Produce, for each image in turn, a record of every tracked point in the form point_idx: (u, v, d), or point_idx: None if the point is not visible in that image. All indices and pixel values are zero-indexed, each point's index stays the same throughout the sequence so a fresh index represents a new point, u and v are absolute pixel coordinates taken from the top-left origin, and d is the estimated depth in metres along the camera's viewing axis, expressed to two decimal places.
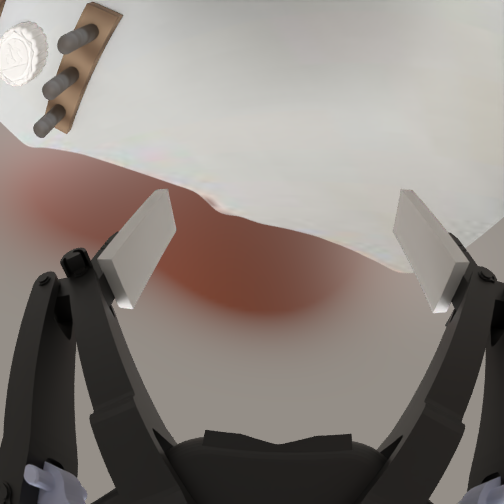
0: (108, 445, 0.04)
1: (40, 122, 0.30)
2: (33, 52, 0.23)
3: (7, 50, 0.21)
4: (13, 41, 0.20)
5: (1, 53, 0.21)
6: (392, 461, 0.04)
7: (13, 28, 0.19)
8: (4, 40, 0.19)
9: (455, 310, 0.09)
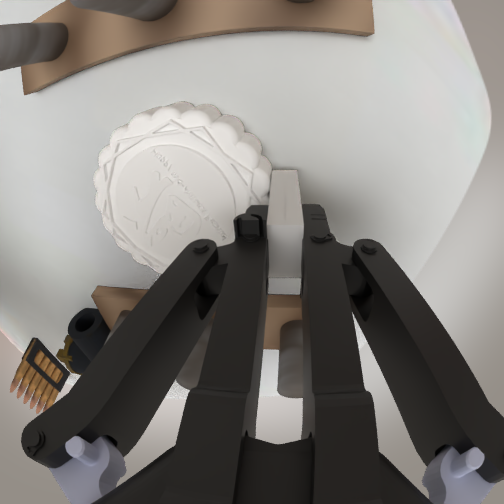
0: (191, 428, 0.04)
1: None
2: (117, 141, 0.14)
3: (159, 236, 0.17)
4: (127, 224, 0.17)
5: None
6: (315, 465, 0.04)
7: (115, 239, 0.19)
8: (148, 256, 0.19)
9: (303, 281, 0.11)
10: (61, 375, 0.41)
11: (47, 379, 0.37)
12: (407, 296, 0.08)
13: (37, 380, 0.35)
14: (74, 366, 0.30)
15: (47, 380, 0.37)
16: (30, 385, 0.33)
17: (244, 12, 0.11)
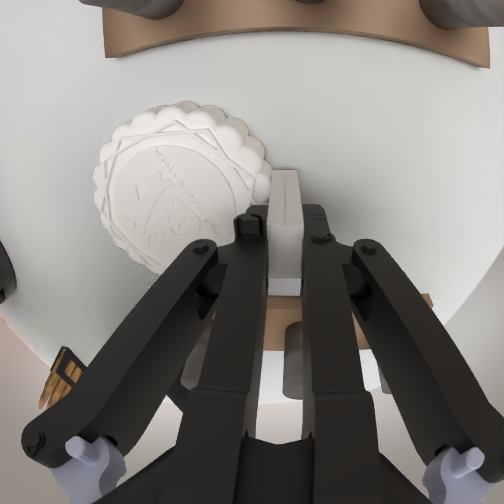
0: (191, 428, 0.04)
1: None
2: (119, 139, 0.14)
3: (157, 237, 0.17)
4: (125, 223, 0.17)
5: None
6: (315, 465, 0.04)
7: (112, 237, 0.18)
8: (145, 255, 0.19)
9: (303, 281, 0.11)
10: None
11: None
12: (407, 296, 0.08)
13: None
14: None
15: None
16: None
17: (399, 23, 0.10)
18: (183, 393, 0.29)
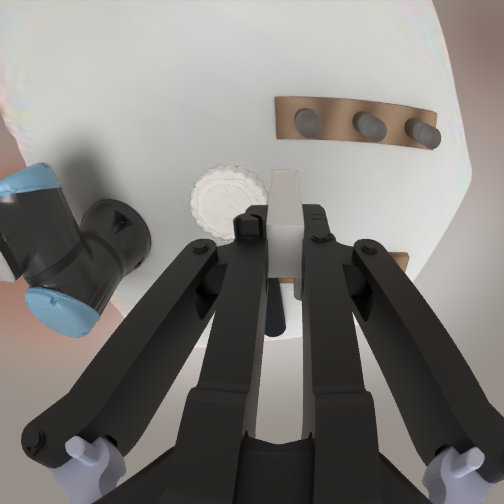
0: (191, 428, 0.04)
1: (421, 138, 0.28)
2: (207, 180, 0.40)
3: (219, 219, 0.43)
4: (205, 213, 0.43)
5: (227, 228, 0.44)
6: (315, 465, 0.04)
7: (196, 220, 0.44)
8: (211, 228, 0.45)
9: (303, 281, 0.11)
10: None
11: None
12: (407, 296, 0.08)
13: None
14: None
15: None
16: None
17: (394, 138, 0.34)
18: (276, 315, 0.53)
